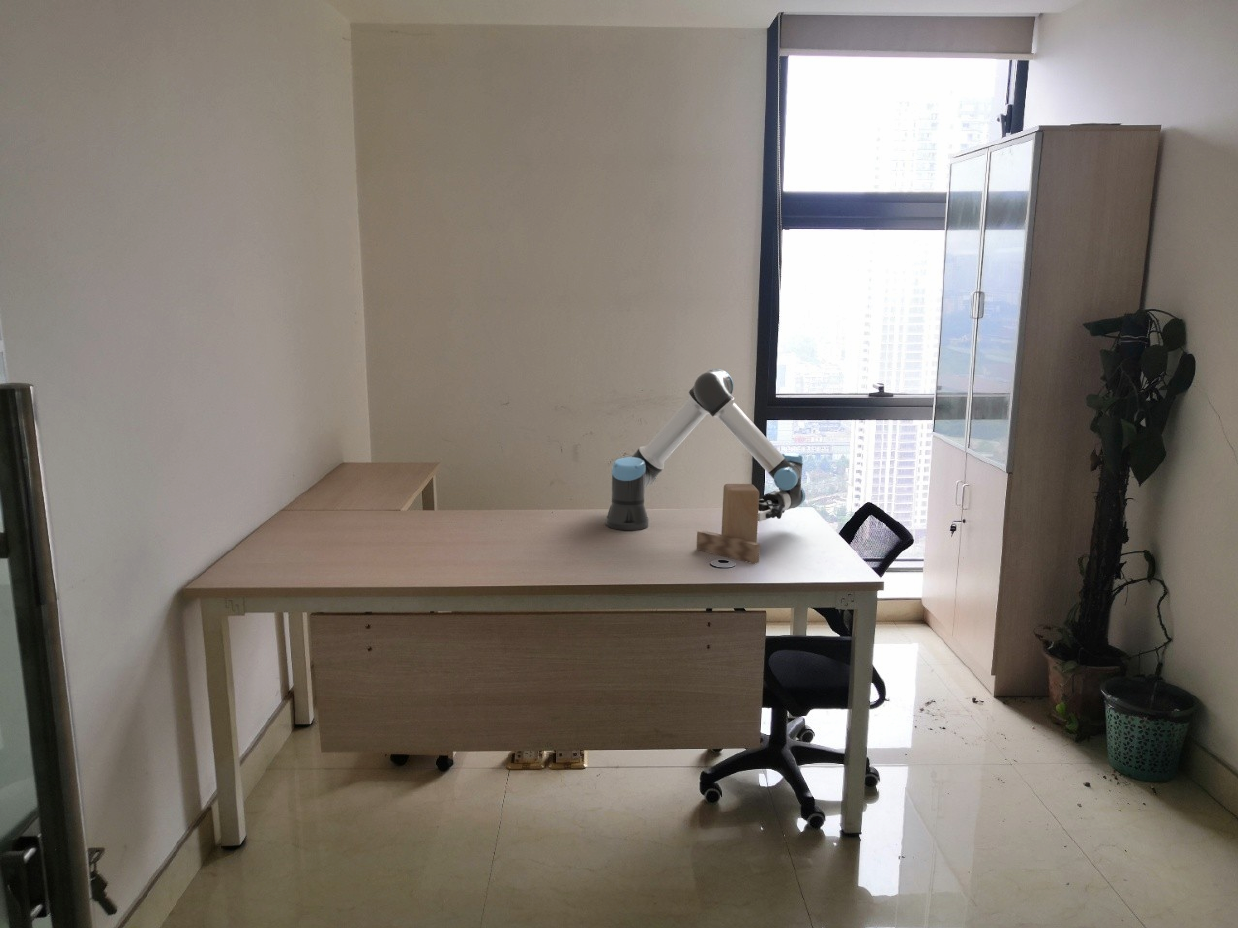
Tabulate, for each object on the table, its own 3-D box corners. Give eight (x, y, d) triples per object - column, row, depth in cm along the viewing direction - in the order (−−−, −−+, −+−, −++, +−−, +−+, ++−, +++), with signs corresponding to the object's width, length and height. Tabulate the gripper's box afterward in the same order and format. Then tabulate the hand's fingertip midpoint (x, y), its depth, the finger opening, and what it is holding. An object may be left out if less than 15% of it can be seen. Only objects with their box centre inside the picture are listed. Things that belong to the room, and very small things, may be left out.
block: (756, 551, 286) (760, 490, 282) (725, 551, 286) (728, 490, 281) (750, 541, 296) (753, 483, 292) (720, 541, 295) (723, 483, 291)
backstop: (696, 549, 290) (697, 531, 289) (700, 547, 292) (701, 529, 291) (754, 563, 277) (755, 545, 275) (759, 562, 278) (760, 543, 277)
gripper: (806, 519, 298) (774, 532, 282) (743, 506, 314) (709, 517, 298) (808, 497, 297) (775, 509, 281) (744, 486, 312) (710, 495, 296)
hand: (741, 513), depth 289 cm, fingers closed on block, 13 cm apart
